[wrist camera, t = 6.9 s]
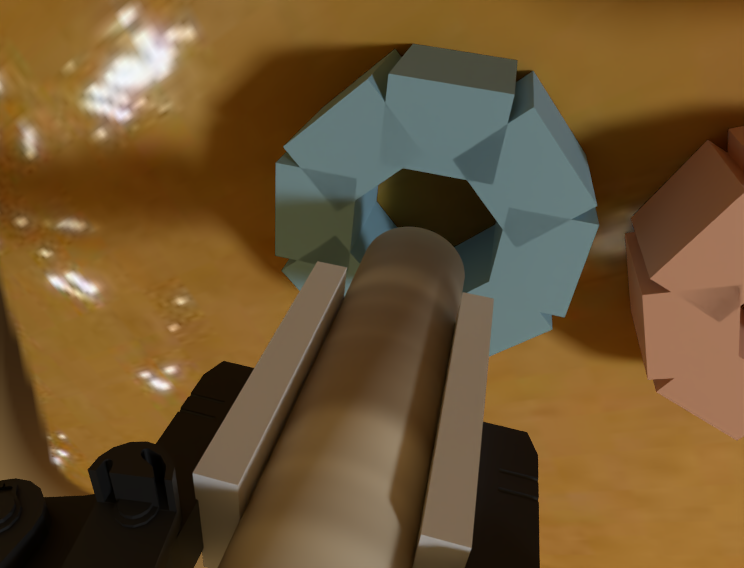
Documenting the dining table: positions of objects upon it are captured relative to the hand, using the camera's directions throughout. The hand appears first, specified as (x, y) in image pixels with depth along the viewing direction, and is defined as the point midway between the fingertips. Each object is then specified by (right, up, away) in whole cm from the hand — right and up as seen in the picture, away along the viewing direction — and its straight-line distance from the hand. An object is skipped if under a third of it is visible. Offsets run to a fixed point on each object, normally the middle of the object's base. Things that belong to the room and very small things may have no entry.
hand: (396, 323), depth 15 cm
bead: (+2, +5, +7) cm, 8 cm away
